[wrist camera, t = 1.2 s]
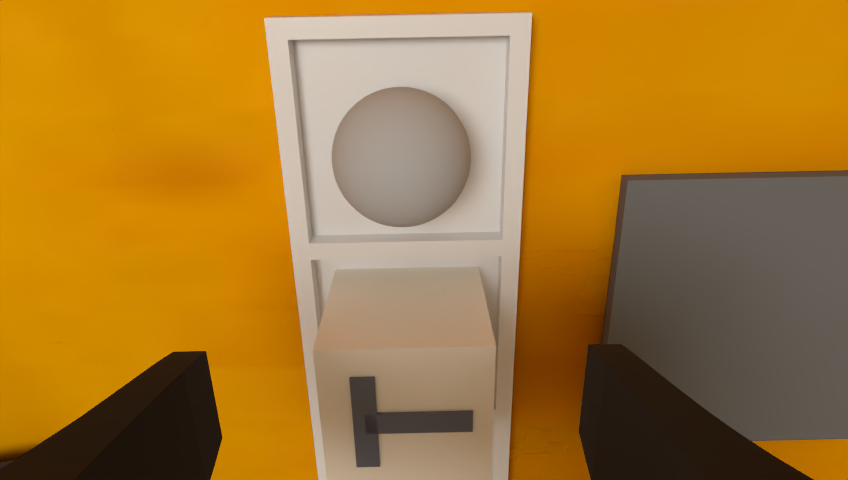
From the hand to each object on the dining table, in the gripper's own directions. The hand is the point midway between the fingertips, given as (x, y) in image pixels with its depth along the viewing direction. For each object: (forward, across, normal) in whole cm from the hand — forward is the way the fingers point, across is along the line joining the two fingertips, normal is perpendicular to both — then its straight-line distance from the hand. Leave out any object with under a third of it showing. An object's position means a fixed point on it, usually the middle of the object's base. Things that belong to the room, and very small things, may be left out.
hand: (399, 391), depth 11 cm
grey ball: (+9, 0, -3) cm, 10 cm away
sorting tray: (+10, 0, +4) cm, 11 cm away
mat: (+10, -13, +4) cm, 17 cm away
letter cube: (+10, 0, +4) cm, 10 cm away
